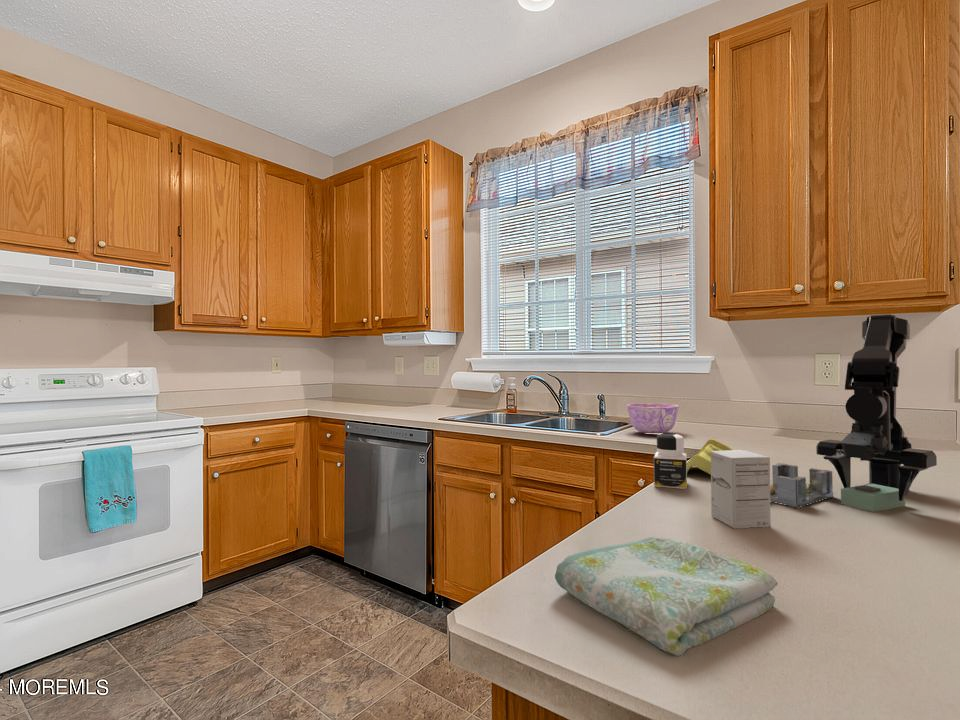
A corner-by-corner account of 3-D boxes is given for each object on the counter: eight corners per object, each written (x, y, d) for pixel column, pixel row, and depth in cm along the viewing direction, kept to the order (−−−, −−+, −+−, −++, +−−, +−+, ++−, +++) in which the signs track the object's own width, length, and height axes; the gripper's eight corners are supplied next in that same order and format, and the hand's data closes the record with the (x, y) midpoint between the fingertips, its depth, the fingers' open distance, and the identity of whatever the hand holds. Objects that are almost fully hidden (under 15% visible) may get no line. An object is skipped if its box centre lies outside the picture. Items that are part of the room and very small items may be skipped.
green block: (873, 500, 109) (872, 481, 109) (905, 507, 104) (904, 487, 104) (841, 505, 105) (840, 486, 105) (872, 513, 100) (872, 492, 100)
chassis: (780, 486, 120) (780, 463, 120) (833, 496, 111) (832, 471, 111) (744, 496, 112) (743, 471, 112) (797, 508, 103) (797, 480, 103)
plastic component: (729, 471, 127) (690, 451, 132) (716, 496, 129) (678, 475, 134) (741, 453, 143) (706, 435, 148) (729, 475, 145) (695, 457, 150)
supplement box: (710, 517, 98) (709, 450, 98) (747, 515, 99) (746, 449, 99) (732, 529, 91) (731, 457, 91) (772, 527, 91) (771, 456, 91)
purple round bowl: (679, 438, 196) (679, 407, 196) (624, 436, 203) (624, 406, 203) (679, 431, 214) (678, 403, 214) (629, 429, 222) (628, 402, 222)
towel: (784, 608, 63) (783, 566, 63) (672, 666, 51) (671, 614, 51) (659, 561, 78) (659, 527, 78) (551, 597, 66) (550, 557, 66)
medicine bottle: (654, 486, 122) (653, 436, 122) (655, 480, 128) (655, 432, 128) (686, 489, 119) (686, 437, 119) (686, 482, 126) (686, 433, 126)
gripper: (802, 417, 108) (804, 492, 108) (914, 425, 92) (915, 513, 92) (828, 413, 114) (829, 484, 114) (937, 421, 98) (938, 503, 98)
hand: (873, 495), depth 104 cm, fingers open, 9 cm apart
